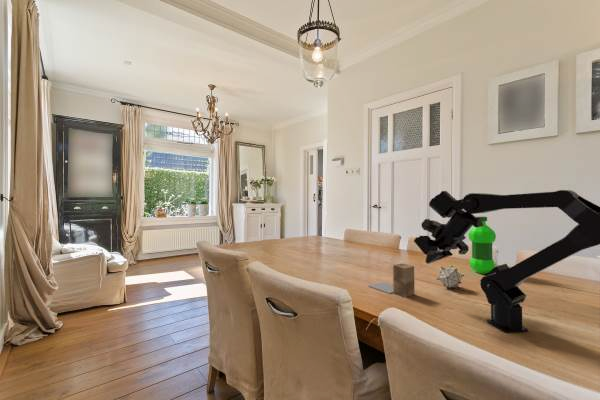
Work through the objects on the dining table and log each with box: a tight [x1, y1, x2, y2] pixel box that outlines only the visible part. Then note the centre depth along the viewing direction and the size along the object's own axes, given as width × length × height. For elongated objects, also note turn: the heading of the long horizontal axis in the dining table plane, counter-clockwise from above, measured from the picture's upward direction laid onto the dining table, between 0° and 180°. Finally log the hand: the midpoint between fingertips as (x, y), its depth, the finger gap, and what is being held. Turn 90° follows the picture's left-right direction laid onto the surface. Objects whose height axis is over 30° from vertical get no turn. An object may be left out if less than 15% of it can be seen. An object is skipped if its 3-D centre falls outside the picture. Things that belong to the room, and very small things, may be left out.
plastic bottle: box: [468, 216, 496, 275], centre depth 124 cm, size 10×10×25 cm
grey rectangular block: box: [392, 263, 415, 298], centre depth 98 cm, size 5×5×10 cm
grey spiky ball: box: [436, 265, 465, 290], centre depth 103 cm, size 9×8×10 cm
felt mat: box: [368, 281, 394, 295], centre depth 105 cm, size 10×8×1 cm
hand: (426, 262), depth 91 cm, fingers closed
